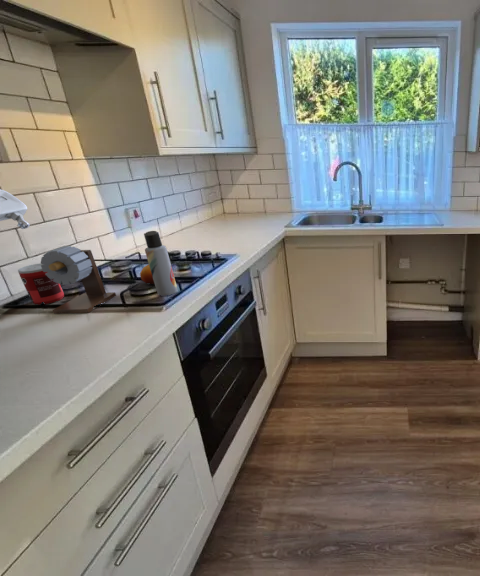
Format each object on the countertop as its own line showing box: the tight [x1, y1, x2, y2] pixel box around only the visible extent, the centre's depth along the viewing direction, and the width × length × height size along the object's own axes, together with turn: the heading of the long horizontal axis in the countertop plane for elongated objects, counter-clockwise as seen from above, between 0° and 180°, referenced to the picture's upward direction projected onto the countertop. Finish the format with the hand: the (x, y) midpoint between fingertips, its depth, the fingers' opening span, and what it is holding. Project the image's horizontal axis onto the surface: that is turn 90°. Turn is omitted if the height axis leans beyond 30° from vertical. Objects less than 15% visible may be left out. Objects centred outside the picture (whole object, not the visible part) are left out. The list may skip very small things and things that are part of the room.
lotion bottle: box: [143, 230, 178, 297], centre depth 112 cm, size 6×6×20 cm
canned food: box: [17, 262, 65, 306], centre depth 111 cm, size 8×8×11 cm
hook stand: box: [49, 249, 117, 315], centre depth 106 cm, size 10×12×16 cm
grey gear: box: [40, 245, 92, 286], centre depth 103 cm, size 10×5×10 cm, turn 91°
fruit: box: [139, 263, 155, 285], centre depth 124 cm, size 8×8×8 cm
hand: (11, 231), depth 99 cm, fingers open, 8 cm apart
